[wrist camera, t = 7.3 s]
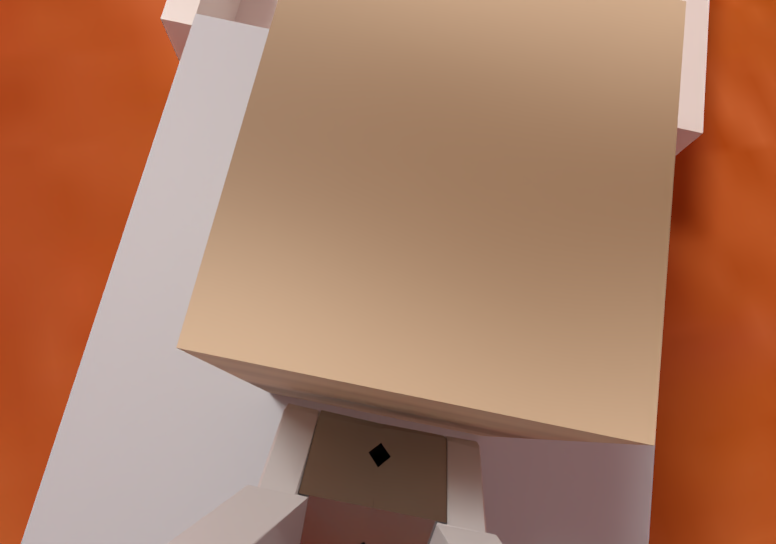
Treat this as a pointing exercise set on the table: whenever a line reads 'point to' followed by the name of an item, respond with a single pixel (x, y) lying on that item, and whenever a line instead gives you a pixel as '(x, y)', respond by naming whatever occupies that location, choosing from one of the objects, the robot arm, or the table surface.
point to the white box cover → (237, 397)
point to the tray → (258, 3)
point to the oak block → (453, 215)
